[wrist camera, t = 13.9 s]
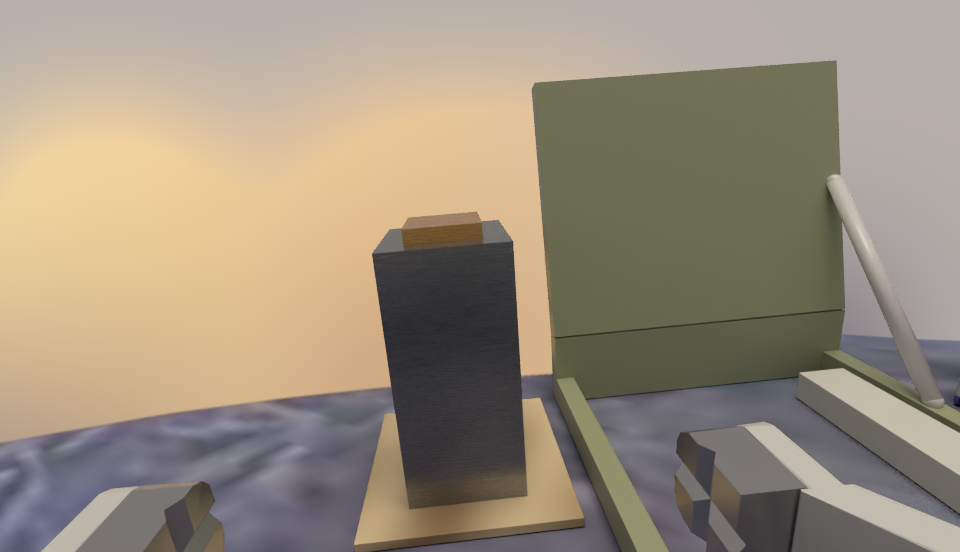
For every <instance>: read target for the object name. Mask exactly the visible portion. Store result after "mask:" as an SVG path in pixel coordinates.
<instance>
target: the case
mask: <svg viewBox="0 0 960 552" xmlns="http://www.w3.org/2000/svg"><path fill="white" fill-rule="evenodd" d="M836 65H837V64H836V61H823V62H810V63H797V64H782V65H769V66H755V67H742V68H728V69H715V70H702V71H689V72H674V73H661V74H648V75H634V76H621V77H608V78H594V79H580V80H567V81H553V82H540V83H535V84H534V86H533V88H532V98H533V110H534V123H535V136H536V149H537V160H538V173H539V185H540V197H541V198H540V199H541V212H542V223H543V235H544V236H543V237H544V248H545V262H546V275H547V287H548V300H549V312H550V325H551V339H552V340H551V341H552V367H553V369H552V370H553V394H554V396H555V398H556V401H557V403H558V405H559V407H560V410H561V412H562V414H563V417H564V419H565V421H566V424H567V426H568V428H569V431H570V433H571V435H572V438H573V440H574V442H575V445H576V447H577V449H578V452H579V454H580V456H581V459H582V461H583V463H584V466H585V468H586V470H587V473H588V475H589V477H590V480H591V482H592V484H593V487H594V489H595V491H596V494H597V496H598V498H599V501H600V503H601V505H602V508H603V510H604V512H605V515H606V517H607V519H608V522H609V524H610V526H611V529H612V531H613V533H614V536H615V538H616V540H617V543H618V545H619V547H620V549H621V552H669V551H668V549H667V547H666V546H665V544H664V542H663V540H662V538H661V536H660V535H659V533H658V531H657V529H656V527H655V525H654V524H653V522H652V520H651V518H650V516H649V515H648V513H647V511H646V509H645V507H644V505H643V504H642V502H641V500H640V498H639V496H638V494H637V493H636V491H635V489H634V487H633V485H632V483H631V482H630V480H629V478H628V476H627V474H626V472H625V471H624V469H623V467H622V465H621V463H620V462H619V460H618V458H617V456H616V454H615V452H614V451H613V449H612V447H611V445H610V443H609V441H608V440H607V438H606V436H605V434H604V432H603V430H602V429H601V427H600V425H599V423H598V421H597V419H596V418H595V416H594V414H593V412H592V410H591V409H590V407H589V405H588V403H587V401H586V399H590V398H600V397H609V396H619V395H628V394H638V393H647V392H657V391H666V390H676V389H685V388H695V387H704V386H714V385H723V384H733V383H742V382H752V381H761V380H771V379H780V378H790V377H798V384H797V392H796V397H797V398H798V399H799V400H801V401H802V402H804V403H805V404H806V405H808V406H809V407H811V408H812V409H813V410H815V411H816V412H818V413H819V414H820V415H822V416H823V417H825V418H826V419H827V420H829V421H830V422H832V423H833V424H834V425H836V426H837V427H839V428H840V429H841V430H843V431H844V432H846V433H847V434H848V435H850V436H851V437H853V438H854V439H855V440H857V441H858V442H860V443H861V444H862V445H864V446H865V447H867V448H868V449H869V450H871V451H872V452H874V453H875V454H876V455H878V456H879V457H881V458H882V459H883V460H885V461H886V462H888V463H889V464H890V465H892V466H893V467H895V468H896V469H897V470H899V471H900V472H902V473H903V474H904V475H906V476H907V477H909V478H910V479H911V480H913V481H914V482H916V483H917V484H918V485H920V486H921V487H923V488H924V489H925V490H927V491H928V492H930V493H931V494H932V495H934V496H935V497H937V498H938V499H939V500H941V501H942V502H944V503H945V504H946V505H948V506H949V507H951V508H952V509H953V510H955V511H956V512H958V513H959V514H960V412H958V411H956V410H955V409H953V408H951V407H949V406H947V405H945V404H944V403H945V400H944V398H943V395H942V393H941V391H940V389H939V387H938V384H937V382H936V380H935V378H934V376H933V374H932V371H931V369H930V367H929V365H928V363H927V360H926V358H925V356H924V354H923V352H922V349H921V347H920V345H919V343H918V341H917V339H916V336H915V334H914V332H913V330H912V328H911V325H910V323H909V321H908V319H907V317H906V314H905V312H904V310H903V308H902V306H901V304H900V301H899V299H898V297H897V295H896V293H895V290H894V288H893V286H892V284H891V282H890V279H889V277H888V275H887V273H886V271H885V269H884V266H883V264H882V262H881V260H880V258H879V256H878V253H877V251H876V249H875V247H874V244H873V242H872V240H871V238H870V236H869V234H868V231H867V229H866V227H865V225H864V223H863V220H862V218H861V216H860V214H859V212H858V210H857V207H856V205H855V203H854V201H853V199H852V196H851V195H850V192H849V190H848V188H847V185H846V183H845V181H844V179H843V178H842V176H840V151H839V124H838V93H837V66H836ZM842 222H843V224H844V226H845V228H846V231H847V233H848V235H849V237H850V240H851V242H852V245H853V247H854V249H855V251H856V254H857V256H858V258H859V261H860V263H861V265H862V267H863V269H864V272H865V274H866V277H867V279H868V281H869V283H870V285H871V288H872V290H873V292H874V294H875V297H876V299H877V301H878V304H879V306H880V308H881V311H882V313H883V315H884V318H885V320H886V322H887V324H888V327H889V329H890V331H891V333H892V336H893V338H894V340H895V343H896V345H897V347H898V349H899V352H900V354H901V356H902V359H903V361H904V363H905V365H906V368H907V370H908V372H909V375H910V377H911V379H912V381H913V384H914V386H915V388H916V389H914V388H912V387H910V386H908V385H906V384H904V383H902V382H900V381H898V380H896V379H894V378H892V377H890V376H889V375H887V374H885V373H883V372H881V371H879V370H877V369H875V368H873V367H871V366H869V365H867V364H865V363H863V362H861V361H859V360H857V359H856V358H854V357H852V356H850V355H848V354H846V353H844V352H842V351H840V350H839V346H840V340H841V333H842V327H843V320H844V313H845V311H844V310H842V309H845V294H844V265H843V238H842Z"/></svg>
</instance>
